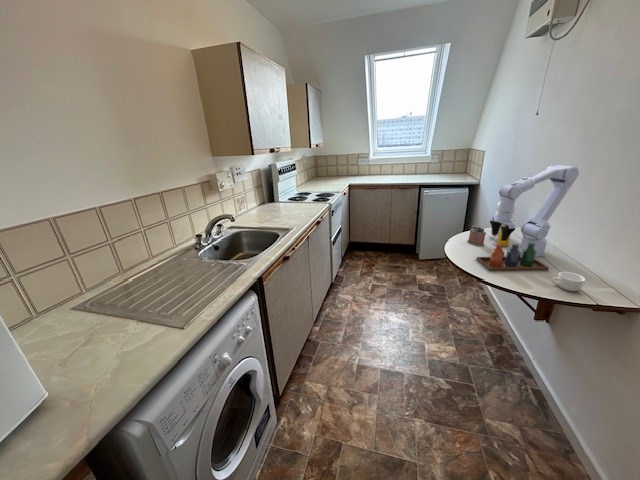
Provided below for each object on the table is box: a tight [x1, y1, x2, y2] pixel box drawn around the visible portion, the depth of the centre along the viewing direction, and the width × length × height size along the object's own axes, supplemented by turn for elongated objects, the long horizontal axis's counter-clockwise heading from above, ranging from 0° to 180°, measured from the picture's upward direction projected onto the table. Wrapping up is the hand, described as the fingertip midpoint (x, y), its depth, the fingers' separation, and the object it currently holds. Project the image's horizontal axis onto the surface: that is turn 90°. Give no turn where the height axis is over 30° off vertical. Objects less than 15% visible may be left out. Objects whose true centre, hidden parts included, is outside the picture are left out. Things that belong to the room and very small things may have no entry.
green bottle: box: [519, 243, 537, 267], centre depth 122 cm, size 5×5×10 cm
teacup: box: [550, 271, 586, 292], centre depth 105 cm, size 10×8×5 cm
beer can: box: [494, 219, 514, 248], centre depth 143 cm, size 6×6×15 cm
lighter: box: [467, 225, 487, 247], centre depth 147 cm, size 8×3×10 cm, turn 40°
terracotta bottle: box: [489, 244, 505, 267], centre depth 122 cm, size 5×5×10 cm
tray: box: [475, 255, 550, 272], centre depth 124 cm, size 26×12×2 cm, turn 88°
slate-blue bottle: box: [504, 242, 521, 267], centre depth 122 cm, size 5×5×10 cm
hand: (499, 237), depth 130 cm, fingers open, 7 cm apart
